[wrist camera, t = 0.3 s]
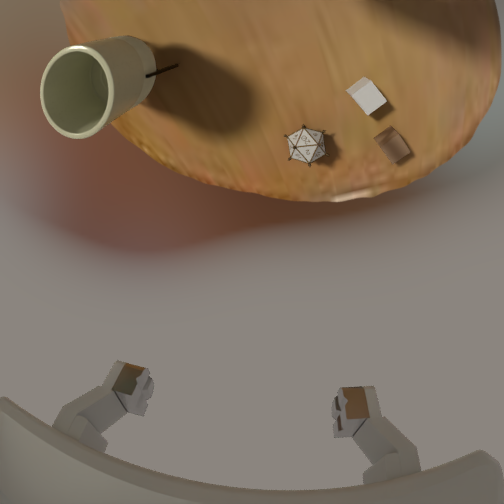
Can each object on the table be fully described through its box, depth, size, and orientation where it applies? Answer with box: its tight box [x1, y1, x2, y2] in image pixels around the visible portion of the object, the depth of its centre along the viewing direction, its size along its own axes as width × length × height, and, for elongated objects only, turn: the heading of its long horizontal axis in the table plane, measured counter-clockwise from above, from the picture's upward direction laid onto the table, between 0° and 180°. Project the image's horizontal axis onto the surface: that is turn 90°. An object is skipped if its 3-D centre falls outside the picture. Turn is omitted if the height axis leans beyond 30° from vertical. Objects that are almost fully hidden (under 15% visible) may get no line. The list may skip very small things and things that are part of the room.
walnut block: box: [374, 126, 410, 164], centre depth 48 cm, size 5×5×5 cm
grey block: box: [346, 77, 387, 115], centre depth 41 cm, size 5×5×5 cm
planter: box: [40, 36, 178, 139], centre depth 35 cm, size 15×16×23 cm
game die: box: [283, 124, 329, 167], centre depth 50 cm, size 9×8×10 cm
